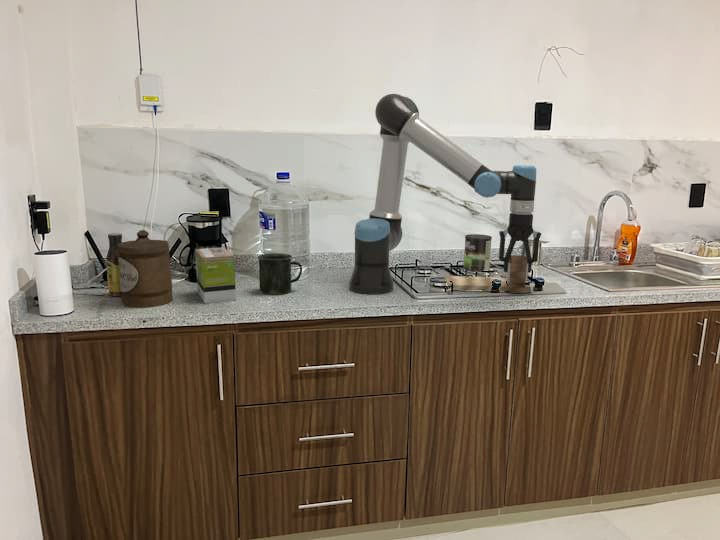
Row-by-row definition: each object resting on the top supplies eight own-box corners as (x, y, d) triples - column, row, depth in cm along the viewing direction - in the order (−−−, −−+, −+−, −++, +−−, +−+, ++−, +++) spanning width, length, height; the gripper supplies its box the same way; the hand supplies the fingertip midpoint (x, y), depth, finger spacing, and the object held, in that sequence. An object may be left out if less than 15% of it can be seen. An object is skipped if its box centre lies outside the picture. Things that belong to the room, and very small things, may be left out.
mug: (258, 287, 192) (258, 253, 190) (301, 287, 195) (301, 252, 192) (257, 296, 182) (256, 259, 179) (303, 295, 184) (302, 258, 182)
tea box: (196, 292, 185) (194, 248, 182) (227, 289, 189) (225, 246, 186) (203, 304, 172) (201, 256, 169) (236, 300, 176) (235, 254, 173)
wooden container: (117, 298, 176) (111, 229, 172) (165, 292, 184) (161, 226, 180) (127, 310, 164) (121, 235, 160) (178, 303, 172) (174, 232, 167)
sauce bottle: (108, 293, 183) (103, 232, 178) (129, 291, 185) (125, 231, 181) (108, 298, 177) (103, 235, 172) (130, 296, 179) (125, 234, 175)
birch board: (447, 290, 192) (447, 284, 192) (444, 281, 206) (444, 275, 206) (530, 293, 190) (531, 287, 190) (522, 283, 204) (522, 277, 204)
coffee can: (473, 275, 217) (475, 238, 214) (458, 269, 226) (459, 234, 223) (495, 272, 221) (497, 237, 218) (479, 267, 230) (481, 233, 227)
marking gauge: (509, 292, 189) (512, 257, 187) (502, 283, 201) (505, 251, 199) (524, 293, 189) (527, 258, 186) (517, 284, 201) (519, 251, 199)
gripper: (495, 213, 183) (490, 283, 188) (552, 214, 181) (546, 285, 186) (491, 211, 190) (487, 278, 195) (546, 212, 189) (540, 279, 194)
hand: (516, 281), depth 191 cm, fingers open, 5 cm apart
